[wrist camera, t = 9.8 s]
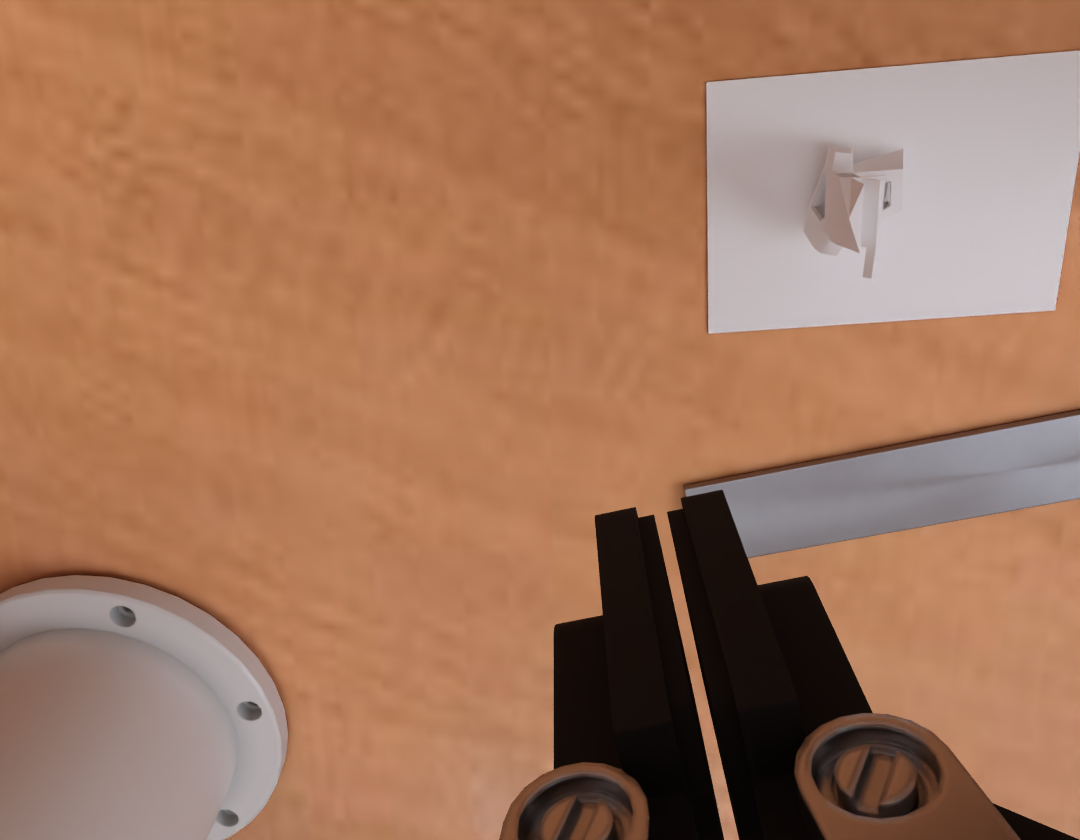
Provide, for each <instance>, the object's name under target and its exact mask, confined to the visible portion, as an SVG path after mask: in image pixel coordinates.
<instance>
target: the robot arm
mask: <svg viewBox="0 0 1080 840" xmlns="http://www.w3.org/2000/svg"><path fill="white" fill-rule="evenodd" d="M681 502H682V507H683V509H679V510H674V511H669V512H667V514H668V519H669V523H670V528H671V533H672V537H673V542H674V547H675V551H676V556H677V561H678V565H679V570H680V575H681V579H682V584H683V589H684V593H685V598H686V603H687V607H688V612H689V617H690V621H691V626H692V631H693V635H694V640H695V644H696V649H697V654H698V658H699V663H700V668H701V672H702V677H703V682H704V686H705V691H706V695H707V700H708V704H709V709H710V713H711V717H712V722H713V726H714V731H715V735H716V739H717V744H718V748H719V753H720V757H721V761H722V766H723V770H724V774H725V779H726V783H727V788H728V792H729V796H730V801H731V805H732V810H733V814H734V818H735V823H736V827H737V832H738V836H739V840H1079V839H1076V838H1074V837H1072V836H1069V835H1067V834H1065V833H1062V832H1060V831H1057V830H1055V829H1053V828H1050V827H1048V826H1046V825H1043V824H1041V823H1038V822H1036V821H1034V820H1031V819H1029V818H1026V817H1024V816H1022V815H1019V814H1017V813H1015V812H1012V811H1010V810H1007V809H1005V808H1003V807H1000V806H998V805H996V804H993V803H992V802H991V801H990V800H989V798H988V797H987V796H986V795H985V793H984V792H983V791H982V789H981V788H980V787H979V786H978V784H977V783H976V782H975V780H974V779H973V778H972V777H971V775H970V774H969V773H968V772H967V770H966V769H965V768H964V766H963V765H962V764H961V763H960V761H959V760H958V759H957V757H956V756H955V755H954V754H953V752H952V751H951V750H950V749H949V747H948V746H947V745H946V744H945V743H944V742H942V741H941V740H940V739H939V738H938V737H937V736H936V735H935V734H934V733H933V732H932V731H930V730H928V729H926V728H924V727H922V726H920V725H919V724H917V723H915V722H913V721H911V720H907V719H904V718H900V717H896V716H892V715H889V714H873V713H872V711H871V708H870V706H869V704H868V702H867V700H866V698H865V696H864V693H863V691H862V689H861V687H860V685H859V683H858V680H857V678H856V676H855V674H854V672H853V670H852V667H851V665H850V663H849V661H848V659H847V657H846V654H845V652H844V650H843V648H842V646H841V644H840V641H839V639H838V637H837V635H836V633H835V631H834V628H833V626H832V624H831V622H830V620H829V618H828V615H827V613H826V611H825V609H824V607H823V605H822V602H821V600H820V598H819V596H818V594H817V592H816V589H815V587H814V585H813V583H812V581H811V580H810V578H809V577H808V576H804V577H798V578H793V579H788V580H783V581H778V582H772V583H767V584H762V585H757V583H756V580H755V577H754V575H753V572H752V569H751V566H750V564H749V561H748V558H747V555H746V553H745V550H744V547H743V544H742V542H741V539H740V536H739V533H738V531H737V528H736V525H735V522H734V519H733V517H732V514H731V511H730V508H729V506H728V503H727V500H726V497H725V495H724V492H723V490H717V491H712V492H707V493H702V494H697V495H692V496H688V497H683V498H681ZM595 526H596V538H597V550H598V562H599V574H600V585H601V597H602V609H603V615H602V616H597V617H592V618H586V619H581V620H576V621H571V622H566V623H560V624H556V625H555V627H554V770H552V771H550V772H547V773H545V774H543V775H541V776H540V777H538V778H537V779H536V780H534V781H533V782H532V783H530V784H529V785H528V786H526V787H525V788H524V789H523V790H522V791H521V793H520V794H519V795H518V796H517V797H516V799H515V800H514V801H513V802H512V804H511V805H510V808H509V810H508V813H507V815H506V817H505V820H504V822H503V826H502V830H501V835H500V839H499V840H724V837H723V832H722V827H721V823H720V818H719V813H718V808H717V803H716V799H715V794H714V789H713V784H712V779H711V775H710V770H709V765H708V760H707V756H706V751H705V746H704V741H703V736H702V732H701V727H700V722H699V717H698V712H697V708H696V703H695V698H694V694H693V689H692V684H691V680H690V675H689V671H688V666H687V662H686V657H685V653H684V648H683V644H682V639H681V635H680V630H679V626H678V621H677V617H676V612H675V608H674V603H673V598H672V594H671V589H670V585H669V580H668V576H667V571H666V567H665V562H664V558H663V553H662V549H661V544H660V540H659V535H658V531H657V526H656V522H655V517H654V515H650V516H645V517H640V518H638V515H637V511H636V507H634V508H629V509H624V510H619V511H615V512H610V513H605V514H600V515H595ZM287 742H288V728H287V721H286V715H285V709H284V706H283V703H282V701H281V698H280V696H279V693H278V691H277V688H276V686H275V683H274V682H273V680H272V679H271V677H270V675H269V674H268V672H267V671H266V669H265V668H264V666H263V665H262V663H261V661H260V660H259V658H258V657H257V656H256V655H255V654H254V653H253V652H252V651H251V650H250V649H249V648H248V647H247V646H246V645H245V644H244V642H243V641H242V640H241V639H240V638H239V637H238V636H237V635H236V634H234V633H233V632H232V631H231V630H229V629H228V628H227V627H225V626H224V625H223V624H222V623H220V622H219V621H218V620H216V619H215V618H214V617H212V616H211V615H210V614H208V613H206V612H204V611H203V610H201V609H199V608H197V607H195V606H194V605H192V604H190V603H188V602H186V601H185V600H183V599H181V598H179V597H177V596H174V595H171V594H169V593H166V592H163V591H161V590H158V589H155V588H153V587H150V586H147V585H144V584H140V583H135V582H131V581H126V580H121V579H117V578H112V577H101V576H84V575H70V576H61V577H51V578H42V579H39V580H35V581H32V582H29V583H25V584H22V585H18V586H15V587H12V588H10V589H9V590H7V591H5V592H3V593H1V594H0V840H224V839H226V838H229V837H230V836H231V835H233V834H234V833H236V832H237V831H239V830H240V829H242V828H243V827H245V826H246V825H248V824H249V823H250V822H251V821H252V820H253V819H254V818H255V816H256V815H257V814H258V813H259V812H260V811H261V810H262V809H263V808H264V807H265V805H266V803H267V802H268V800H269V798H270V796H271V794H272V792H273V791H274V789H275V787H276V785H277V782H278V779H279V776H280V773H281V770H282V768H283V765H284V762H285V759H286V752H287Z"/></svg>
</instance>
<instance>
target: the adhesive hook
mask: <svg viewBox="0 0 1080 840" xmlns="http://www.w3.org/2000/svg"><path fill="white" fill-rule="evenodd" d="M903 193H904V149H903V148H900V149H897V150H894V151H890V152H887V153H884V154H881V155H878V156H875V157H871V158H868V159H865V160H862V161H859V162H856V163H854V147H853V146H841V145H828V146H827V151H826V156H825V161H824V165H823V168H822V170H821V173H820V176H819V178H818V181H817V184H816V186H815V189H814V192H813V194H812V197H811V199H810V202H809V205H808V207H807V210H806V215H805V220H804V226H803V231H802V232H803V233H804V235H805V236H806V238H807V240H808V241H809V243H810V245H811V246H812V248H813V249H814V250H816V251H817V252H818V253H819V254H822V255H827V256H833V257H837V256H838V255H839V253H840V252H841V250H842V249H843V248H844V249H847V250H850V251H852V252H855V253H858V254H860V253H861V248H865V254H864V262H863V269H862V276H861V277H862V278H865V279H870V280H873V279H874V278H875V277H876V270H877V263H878V256H879V249H880V244H881V243H882V230H883V221H884V220H886V219H888V218H890V217H892V216H894V215H896V214H898V213H900V212H902V211H903Z"/></svg>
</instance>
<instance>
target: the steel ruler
mask: <svg viewBox="0 0 1080 840" xmlns="http://www.w3.org/2000/svg"><path fill="white" fill-rule="evenodd" d="M717 490H723V492H724V495H725V497H726V500H727V503H728V506H729V508H730V511H731V514H732V517H733V519H734V522H735V525H736V528H737V531H738V533H739V536H740V539H741V542H742V544H743V547H744V550H745V553H746V555H747V558H751V557H757V556H762V555H768V554H773V553H779V552H785V551H790V550H796V549H801V548H807V547H812V546H818V545H824V544H829V543H835V542H840V541H846V540H851V539H857V538H863V537H868V536H874V535H879V534H885V533H891V532H896V531H902V530H907V529H913V528H918V527H924V526H930V525H935V524H941V523H946V522H952V521H957V520H963V519H969V518H974V517H980V516H985V515H991V514H996V513H1002V512H1008V511H1013V510H1019V509H1024V508H1030V507H1035V506H1041V505H1047V504H1052V503H1058V502H1063V501H1069V500H1074V499H1080V410H1077V411H1072V412H1066V413H1061V414H1056V415H1051V416H1045V417H1040V418H1035V419H1030V420H1024V421H1019V422H1014V423H1009V424H1004V425H998V426H993V427H988V428H983V429H977V430H972V431H967V432H962V433H956V434H951V435H946V436H941V437H936V438H930V439H925V440H920V441H915V442H909V443H904V444H899V445H894V446H888V447H883V448H878V449H873V450H867V451H862V452H857V453H852V454H847V455H841V456H836V457H831V458H826V459H820V460H815V461H810V462H805V463H799V464H794V465H789V466H784V467H779V468H773V469H768V470H763V471H758V472H752V473H747V474H742V475H737V476H731V477H726V478H721V479H716V480H710V481H705V482H700V483H695V484H690V485H684V491H685V496H686V497H688V496H692V495H697V494H702V493H707V492H712V491H717Z"/></svg>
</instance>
